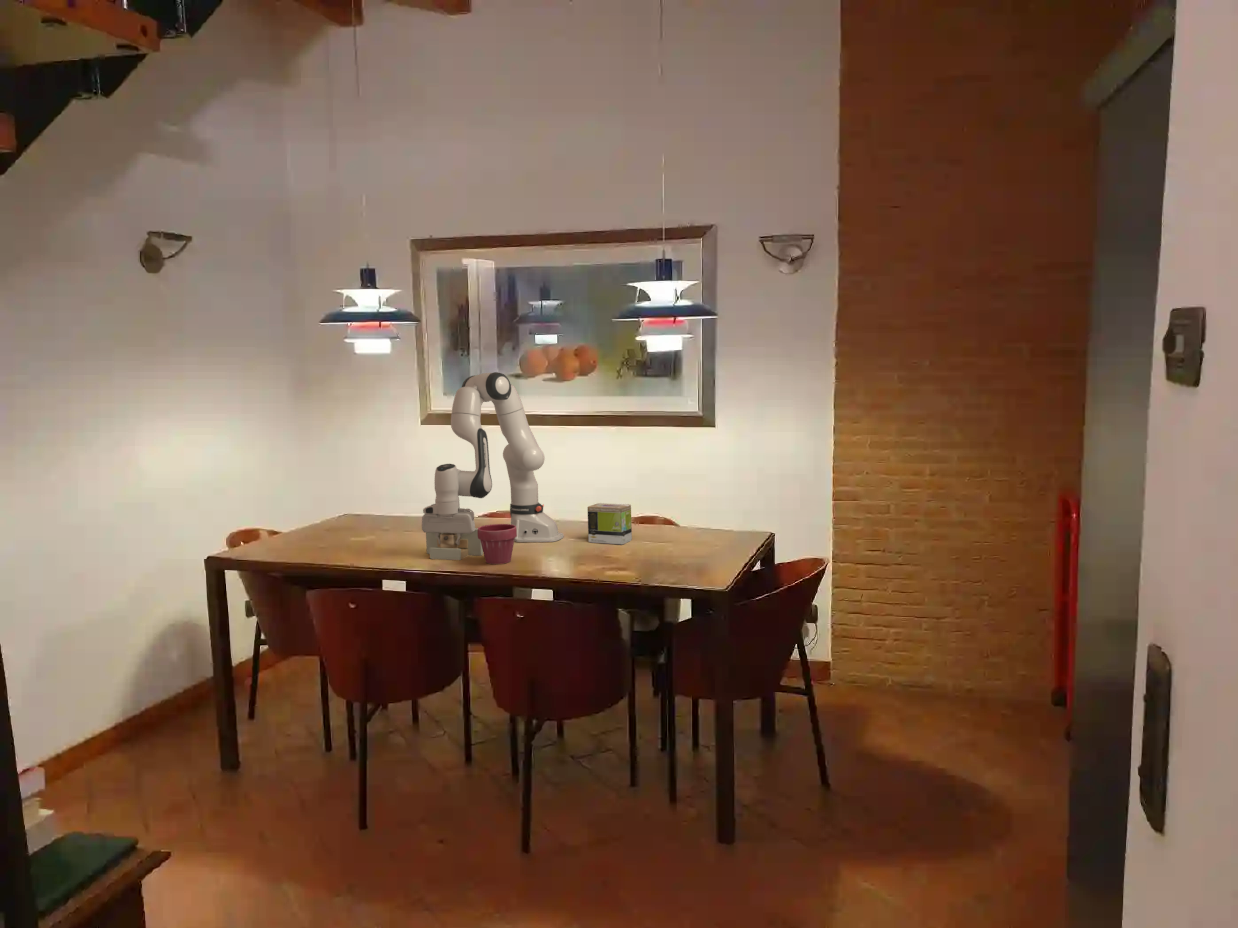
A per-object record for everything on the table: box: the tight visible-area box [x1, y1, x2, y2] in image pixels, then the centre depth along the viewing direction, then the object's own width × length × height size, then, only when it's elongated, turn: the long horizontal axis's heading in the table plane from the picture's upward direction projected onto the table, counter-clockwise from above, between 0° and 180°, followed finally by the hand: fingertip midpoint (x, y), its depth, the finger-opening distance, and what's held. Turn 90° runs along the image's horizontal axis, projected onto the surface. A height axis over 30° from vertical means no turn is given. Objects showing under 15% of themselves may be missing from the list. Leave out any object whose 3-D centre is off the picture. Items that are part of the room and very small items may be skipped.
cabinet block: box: [440, 533, 458, 549], centre depth 347 cm, size 5×5×6 cm
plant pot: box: [477, 523, 517, 565], centre depth 338 cm, size 14×14×13 cm
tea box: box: [587, 502, 633, 545], centre depth 369 cm, size 15×10×15 cm, turn 65°
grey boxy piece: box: [425, 527, 484, 561], centre depth 348 cm, size 22×10×10 cm, turn 77°
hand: (449, 544), depth 347 cm, fingers closed on cabinet block, 5 cm apart
